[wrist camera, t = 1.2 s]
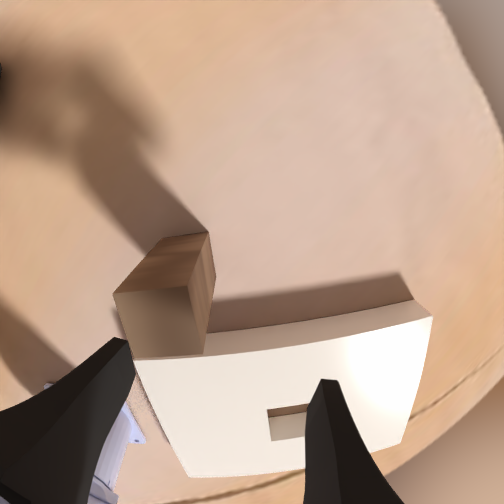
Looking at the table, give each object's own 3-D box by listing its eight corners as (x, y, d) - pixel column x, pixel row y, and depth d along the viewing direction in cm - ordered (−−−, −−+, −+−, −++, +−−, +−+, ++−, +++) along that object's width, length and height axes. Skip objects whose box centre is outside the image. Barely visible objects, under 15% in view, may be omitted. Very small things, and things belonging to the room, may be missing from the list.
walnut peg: (171, 282, 21) (134, 358, 12) (162, 238, 20) (112, 293, 11) (216, 277, 21) (203, 354, 12) (208, 231, 20) (186, 285, 11)
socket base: (191, 456, 27) (189, 477, 24) (143, 338, 22) (132, 360, 19) (390, 424, 27) (400, 443, 24) (414, 299, 22) (432, 315, 19)
